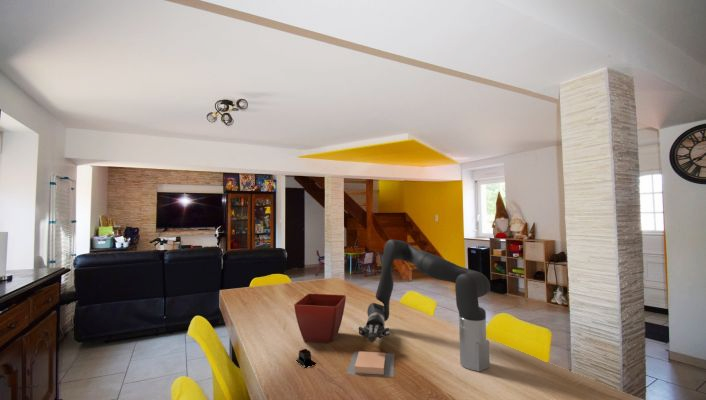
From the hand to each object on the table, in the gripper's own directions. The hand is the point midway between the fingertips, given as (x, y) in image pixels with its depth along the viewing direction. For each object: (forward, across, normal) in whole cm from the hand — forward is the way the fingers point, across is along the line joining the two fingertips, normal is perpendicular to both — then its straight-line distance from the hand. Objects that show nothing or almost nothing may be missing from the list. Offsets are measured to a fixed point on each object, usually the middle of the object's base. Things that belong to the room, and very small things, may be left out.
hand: (371, 339), depth 121 cm
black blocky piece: (+4, -25, +9) cm, 27 cm away
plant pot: (-20, -25, +8) cm, 33 cm away
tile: (-1, 0, +6) cm, 6 cm away
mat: (+3, 0, +8) cm, 9 cm away
